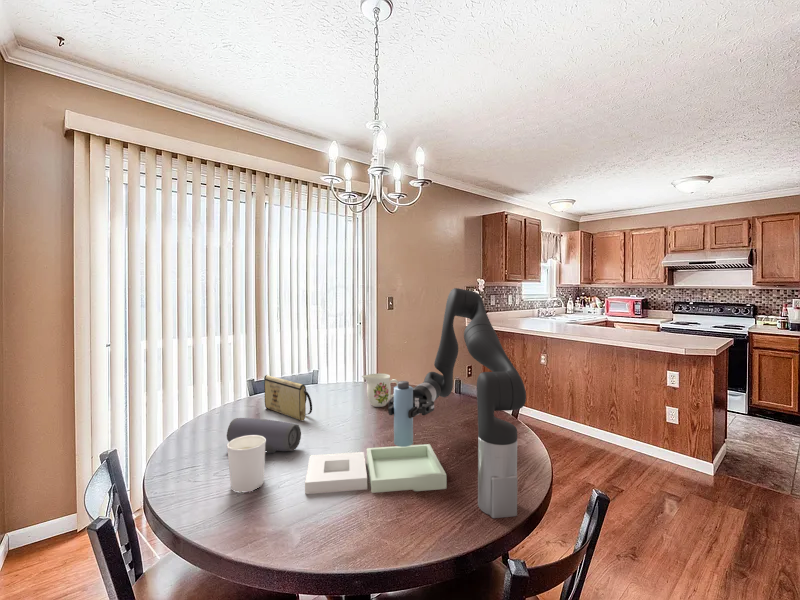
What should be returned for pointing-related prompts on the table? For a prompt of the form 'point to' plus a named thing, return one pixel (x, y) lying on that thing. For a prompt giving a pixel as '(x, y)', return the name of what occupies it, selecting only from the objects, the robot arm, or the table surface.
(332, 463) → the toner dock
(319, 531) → the table surface
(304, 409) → the clutch purse
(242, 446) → the candle holder
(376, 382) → the pitcher
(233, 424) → the bluetooth speaker
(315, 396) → the table surface
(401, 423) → the bottle
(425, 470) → the tray
